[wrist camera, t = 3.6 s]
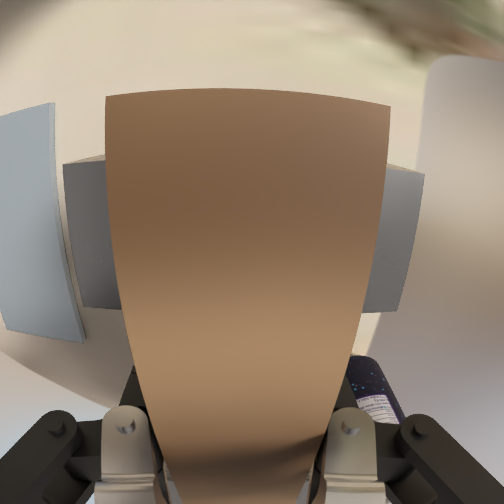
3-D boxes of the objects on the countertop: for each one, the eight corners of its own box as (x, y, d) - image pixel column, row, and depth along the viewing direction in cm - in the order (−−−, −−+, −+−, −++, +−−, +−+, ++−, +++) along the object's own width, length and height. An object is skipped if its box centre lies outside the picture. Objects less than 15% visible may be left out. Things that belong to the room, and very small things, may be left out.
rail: (167, 111, 7) (106, 96, 4) (321, 116, 7) (391, 106, 4) (199, 465, 13) (195, 529, 9) (275, 466, 13) (282, 529, 10)
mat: (-26, 126, 13) (-31, 127, 12) (55, 103, 13) (49, 102, 13) (10, 325, 19) (7, 329, 18) (86, 338, 19) (83, 343, 19)
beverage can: (295, 397, 22) (322, 536, 11) (322, 343, 20) (375, 501, 9) (357, 400, 23) (400, 520, 12) (388, 350, 21) (457, 478, 10)
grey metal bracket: (161, 123, 15) (30, 119, 4) (322, 128, 15) (458, 131, 5) (162, 215, 16) (66, 338, 6) (315, 218, 17) (412, 343, 7)
